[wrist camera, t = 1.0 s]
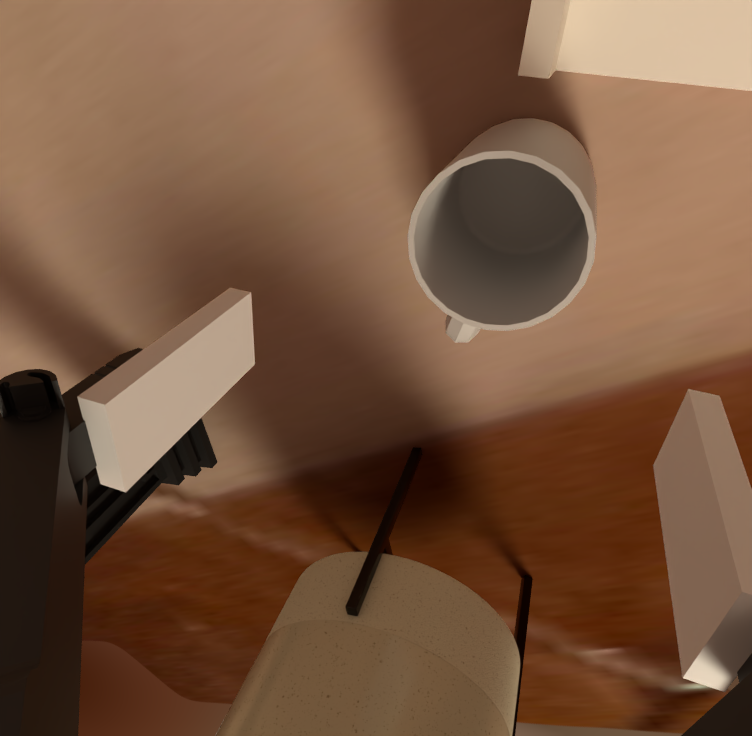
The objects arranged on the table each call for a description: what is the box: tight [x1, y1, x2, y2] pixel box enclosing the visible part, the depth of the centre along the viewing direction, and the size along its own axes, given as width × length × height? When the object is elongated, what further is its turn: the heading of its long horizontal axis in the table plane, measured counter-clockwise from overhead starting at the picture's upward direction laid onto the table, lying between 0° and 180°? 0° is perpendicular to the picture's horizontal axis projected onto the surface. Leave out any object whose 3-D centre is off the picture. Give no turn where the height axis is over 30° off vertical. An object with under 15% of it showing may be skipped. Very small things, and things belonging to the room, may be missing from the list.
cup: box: [408, 118, 596, 342], centre depth 26 cm, size 7×10×9 cm
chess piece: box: [84, 418, 217, 578], centre depth 39 cm, size 8×8×20 cm
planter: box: [215, 448, 532, 736], centre depth 34 cm, size 15×16×23 cm
